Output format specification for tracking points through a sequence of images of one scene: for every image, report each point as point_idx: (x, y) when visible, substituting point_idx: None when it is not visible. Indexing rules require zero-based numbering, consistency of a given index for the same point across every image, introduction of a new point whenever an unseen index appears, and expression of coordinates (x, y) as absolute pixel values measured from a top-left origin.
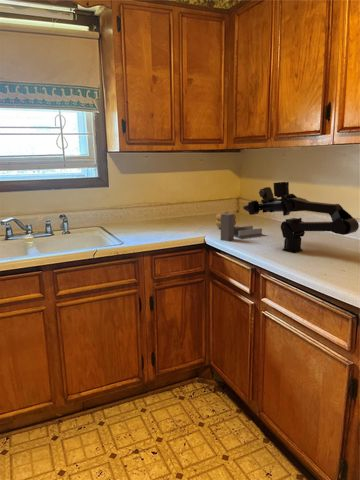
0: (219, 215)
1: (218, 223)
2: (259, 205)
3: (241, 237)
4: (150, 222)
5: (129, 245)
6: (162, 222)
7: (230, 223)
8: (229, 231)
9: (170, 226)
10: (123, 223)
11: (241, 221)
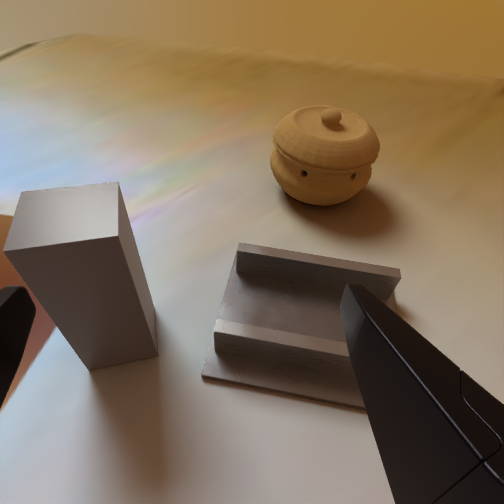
0: (283, 125)
1: (270, 163)
2: (369, 351)
3: (214, 367)
4: (170, 60)
5: None
6: (196, 70)
7: (74, 299)
8: (82, 336)
9: (170, 98)
10: (108, 45)
11: (454, 156)
